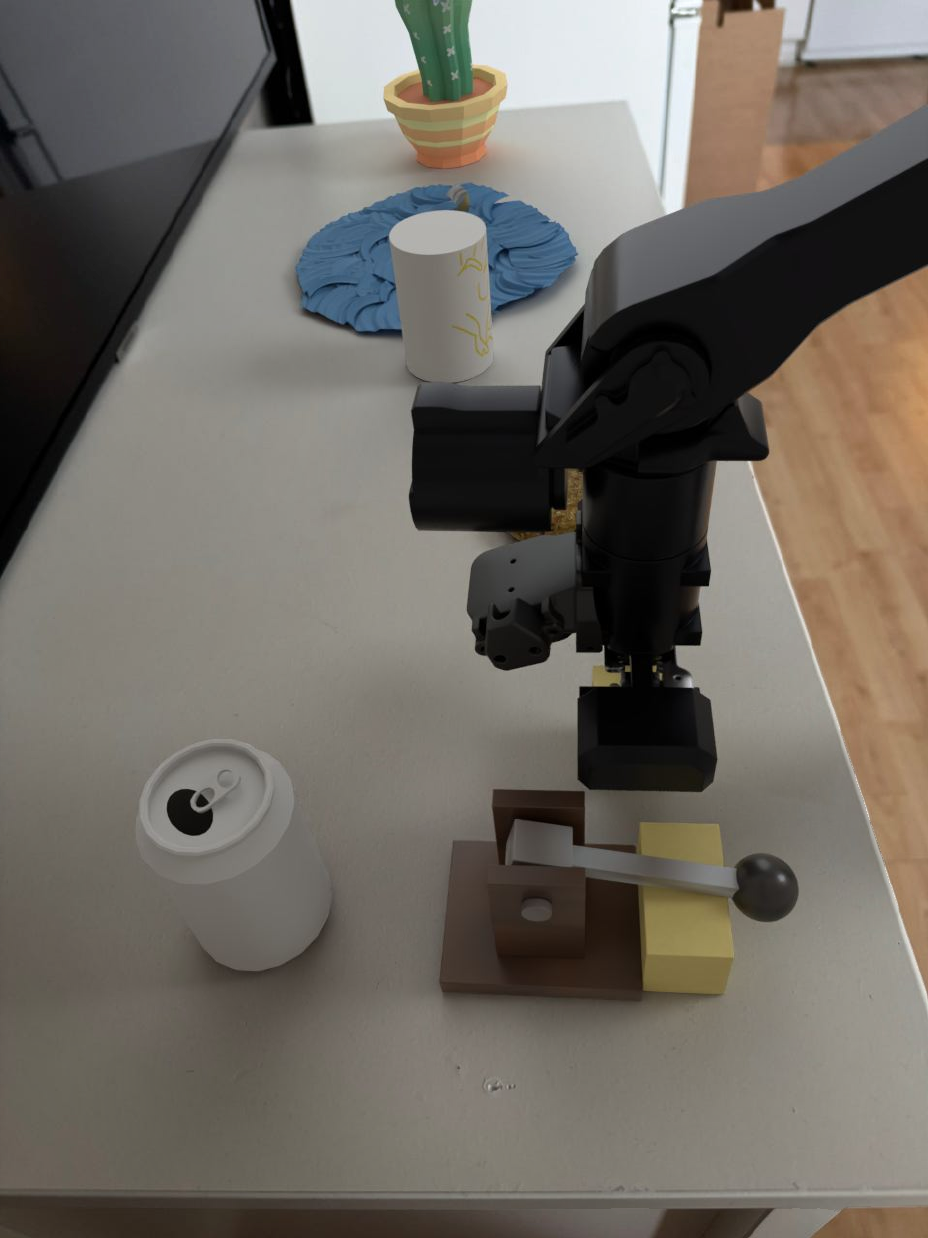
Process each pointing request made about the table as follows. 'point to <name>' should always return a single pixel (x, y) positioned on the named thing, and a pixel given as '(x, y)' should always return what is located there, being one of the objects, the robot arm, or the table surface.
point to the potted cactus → (444, 86)
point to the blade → (661, 870)
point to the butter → (683, 916)
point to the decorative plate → (362, 261)
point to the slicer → (538, 914)
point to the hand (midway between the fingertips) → (631, 722)
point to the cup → (443, 294)
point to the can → (234, 853)
